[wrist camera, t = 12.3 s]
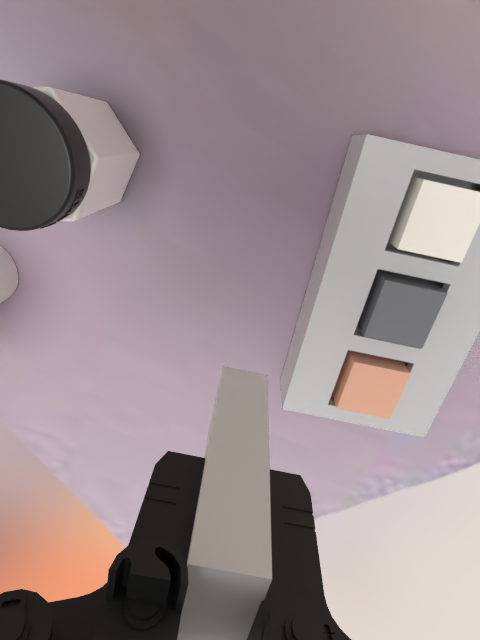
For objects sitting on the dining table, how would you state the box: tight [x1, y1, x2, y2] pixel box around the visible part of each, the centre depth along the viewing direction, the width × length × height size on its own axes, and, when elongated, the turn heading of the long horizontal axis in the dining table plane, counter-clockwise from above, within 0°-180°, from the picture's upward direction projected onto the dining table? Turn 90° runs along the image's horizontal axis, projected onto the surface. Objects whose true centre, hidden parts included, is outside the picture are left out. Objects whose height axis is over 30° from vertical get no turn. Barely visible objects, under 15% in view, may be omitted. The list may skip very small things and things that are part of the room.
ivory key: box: [388, 177, 480, 263], centre depth 29 cm, size 5×5×3 cm
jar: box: [0, 80, 140, 231], centre depth 28 cm, size 9×8×12 cm
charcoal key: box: [358, 269, 448, 348], centre depth 32 cm, size 5×5×3 cm
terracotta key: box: [332, 350, 411, 419], centre depth 36 cm, size 5×5×3 cm
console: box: [280, 134, 480, 437], centre depth 34 cm, size 24×14×5 cm, turn 168°
